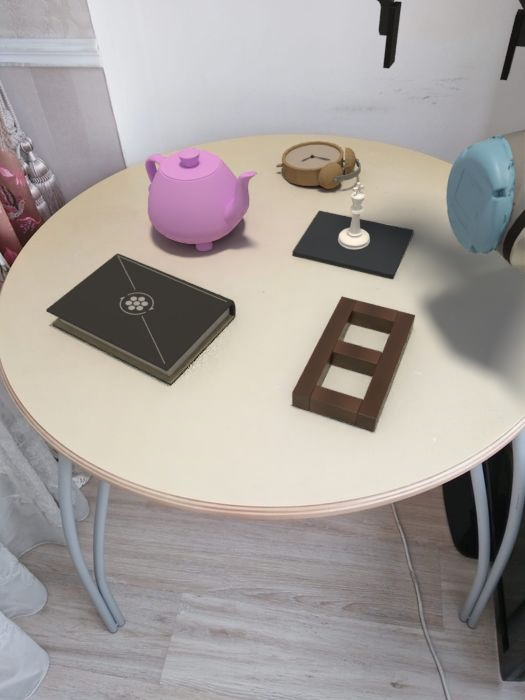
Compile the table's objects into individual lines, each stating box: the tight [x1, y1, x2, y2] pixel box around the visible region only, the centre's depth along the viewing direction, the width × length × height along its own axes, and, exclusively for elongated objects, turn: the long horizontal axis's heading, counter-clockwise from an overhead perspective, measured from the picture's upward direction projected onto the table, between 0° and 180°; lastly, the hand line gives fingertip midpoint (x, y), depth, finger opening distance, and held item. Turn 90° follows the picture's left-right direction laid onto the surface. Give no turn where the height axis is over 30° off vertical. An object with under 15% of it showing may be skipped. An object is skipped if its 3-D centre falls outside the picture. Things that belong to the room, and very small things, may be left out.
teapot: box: [144, 147, 258, 252], centre depth 88 cm, size 22×16×14 cm
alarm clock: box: [275, 140, 362, 190], centre depth 102 cm, size 11×5×15 cm
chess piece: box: [338, 181, 370, 250], centre depth 85 cm, size 5×5×10 cm
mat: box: [292, 210, 414, 280], centre depth 89 cm, size 16×12×1 cm
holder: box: [291, 295, 416, 433], centre depth 71 cm, size 10×18×2 cm, turn 156°
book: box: [45, 253, 237, 386], centre depth 78 cm, size 22×15×3 cm
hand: (444, 70), depth 67 cm, fingers open, 13 cm apart
